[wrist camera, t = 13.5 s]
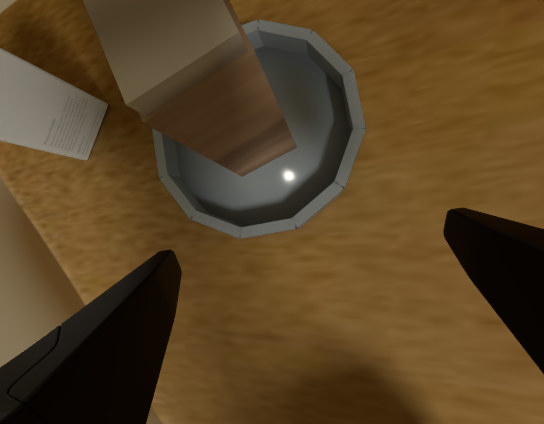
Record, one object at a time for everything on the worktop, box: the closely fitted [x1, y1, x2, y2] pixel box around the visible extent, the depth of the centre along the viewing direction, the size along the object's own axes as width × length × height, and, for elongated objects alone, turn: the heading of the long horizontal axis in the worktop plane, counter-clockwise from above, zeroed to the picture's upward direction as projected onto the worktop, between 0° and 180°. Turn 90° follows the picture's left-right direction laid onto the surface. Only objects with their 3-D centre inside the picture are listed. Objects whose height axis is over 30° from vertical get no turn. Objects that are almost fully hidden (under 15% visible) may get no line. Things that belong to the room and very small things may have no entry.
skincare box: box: [0, 48, 108, 160], centre depth 21 cm, size 6×4×12 cm
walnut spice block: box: [83, 0, 297, 177], centre depth 16 cm, size 5×5×13 cm
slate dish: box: [152, 20, 366, 239], centre depth 21 cm, size 16×16×2 cm
